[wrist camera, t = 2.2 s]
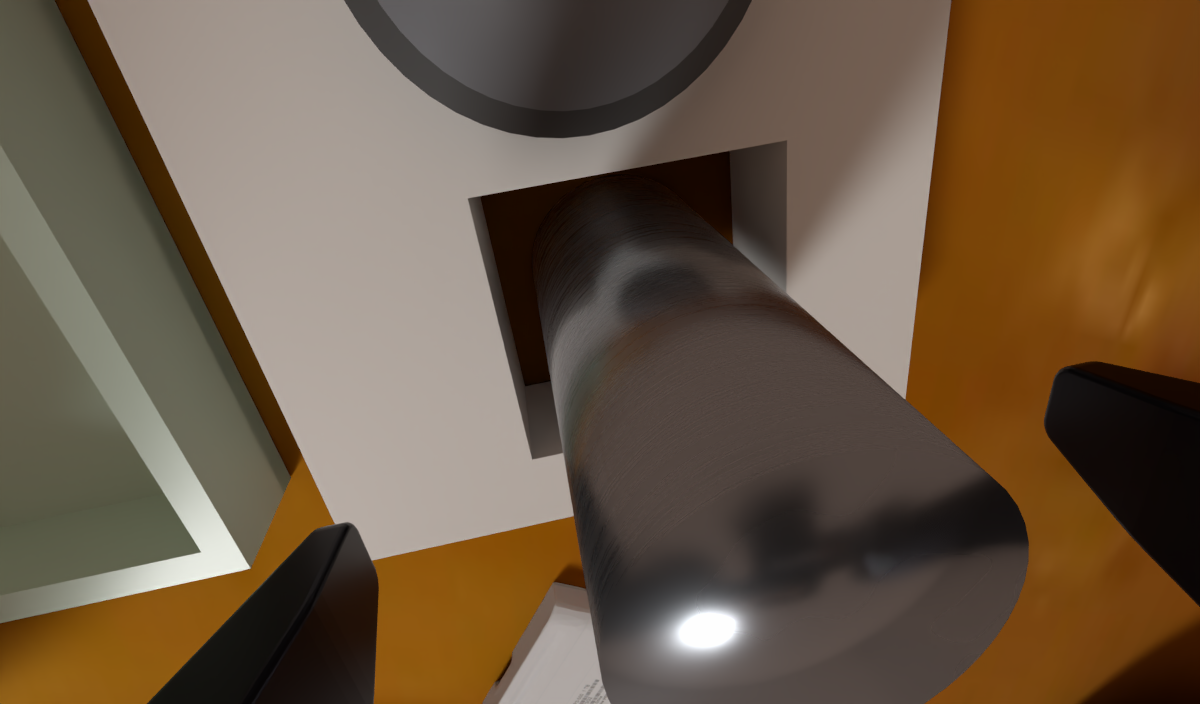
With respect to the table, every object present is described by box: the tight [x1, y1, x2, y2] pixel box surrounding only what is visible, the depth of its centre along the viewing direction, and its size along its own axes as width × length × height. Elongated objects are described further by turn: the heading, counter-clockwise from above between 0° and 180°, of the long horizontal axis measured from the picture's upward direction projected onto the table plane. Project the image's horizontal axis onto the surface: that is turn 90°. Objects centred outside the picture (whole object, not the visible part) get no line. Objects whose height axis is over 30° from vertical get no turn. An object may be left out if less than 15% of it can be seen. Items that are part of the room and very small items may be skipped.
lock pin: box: [532, 175, 1029, 704], centre depth 10 cm, size 4×4×10 cm
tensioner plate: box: [88, 0, 951, 560], centre depth 11 cm, size 12×14×5 cm
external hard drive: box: [482, 582, 611, 704], centre depth 22 cm, size 2×8×12 cm
